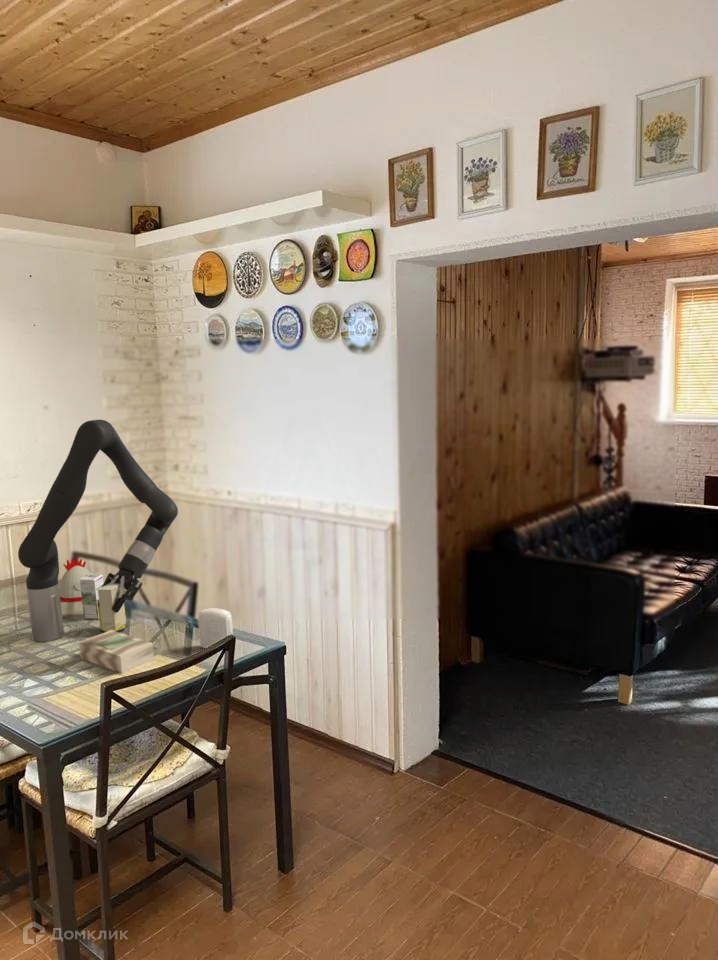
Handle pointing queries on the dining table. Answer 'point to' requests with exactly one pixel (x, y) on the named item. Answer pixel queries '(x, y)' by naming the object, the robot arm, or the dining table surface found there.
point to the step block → (116, 651)
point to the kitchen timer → (72, 581)
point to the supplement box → (101, 622)
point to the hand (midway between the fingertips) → (107, 608)
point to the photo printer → (214, 625)
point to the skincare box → (110, 607)
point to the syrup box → (90, 595)
